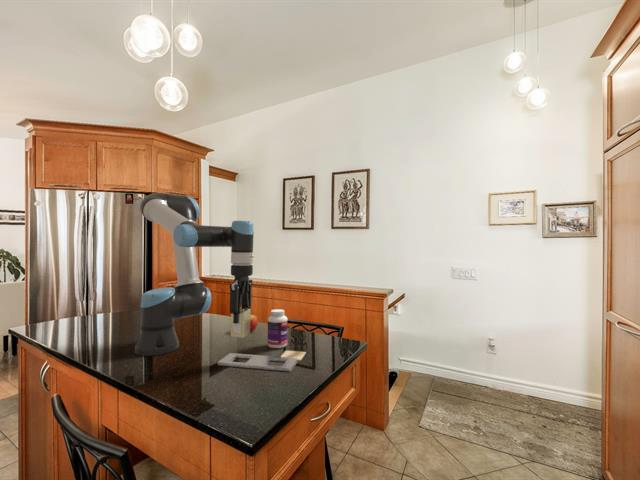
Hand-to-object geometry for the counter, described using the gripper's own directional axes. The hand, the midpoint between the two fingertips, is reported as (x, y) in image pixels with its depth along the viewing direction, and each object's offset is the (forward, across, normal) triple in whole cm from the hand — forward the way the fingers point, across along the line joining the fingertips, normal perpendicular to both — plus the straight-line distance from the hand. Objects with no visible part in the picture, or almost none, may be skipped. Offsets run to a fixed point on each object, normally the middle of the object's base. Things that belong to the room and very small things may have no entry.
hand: (240, 329), depth 109 cm
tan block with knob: (+2, 0, 0) cm, 2 cm away
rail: (+11, 0, -7) cm, 13 cm away
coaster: (+11, +9, -17) cm, 22 cm away
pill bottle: (+11, +18, -8) cm, 23 cm away
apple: (+12, +35, +12) cm, 39 cm away
